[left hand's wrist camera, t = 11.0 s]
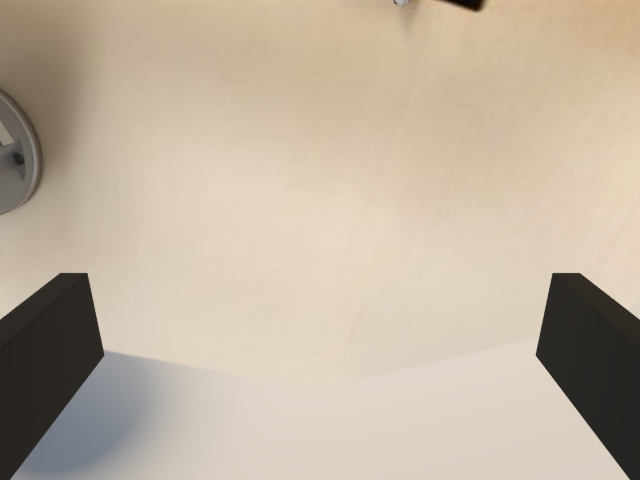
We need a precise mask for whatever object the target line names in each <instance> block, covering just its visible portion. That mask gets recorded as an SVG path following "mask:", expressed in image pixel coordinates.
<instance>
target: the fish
mask: <svg viewBox="0 0 640 480" xmlns="http://www.w3.org/2000/svg"><path fill="white" fill-rule="evenodd" d="M409 1H410V0H394V3H395V4H397V5H398V6H400V7H402V6H404V5H406V4H407V3H409Z"/></svg>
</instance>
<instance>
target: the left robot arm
mask: <svg viewBox="0 0 640 480" xmlns="http://www.w3.org/2000/svg"><path fill="white" fill-rule="evenodd" d="M41 171H42V154H41V148H40V144H39V141H38V138H37V135H36V133H35V130H34V128H33V126H32V124H31V123H30V121H29V119H28V118H27V116H26V115H25V113H24V112H23V111H22V109H21V108H20V107H19V106H18V105H17V104H16V103H15V102H14V101H13V100H12V99H11V98H10V97H9V96H8V95H7V94H5V93H4V92H3V91H2V90H0V215H2V214H5V213H7V212H9V211H11V210H13V209H15V208H17V207H19V206H21V205H22V204H23V203H24V202H26V201H27V200H28V199H29V198H30V197H31V195H32V194H33V193H34V191H35V189H36V187H37V185H38V183H39V180H40V176H41ZM103 356H104V351H103V346H102V341H101V337H100V332H99V327H98V322H97V317H96V312H95V308H94V303H93V298H92V293H91V288H90V283H89V279H88V274H87V273H60V274H58V275H57V276H56V277H55V278H53V279H52V280H51V281H49V282H48V283H47V284H46V285H44V286H43V287H42V288H40V289H39V290H38V291H37V292H35V293H34V294H33V295H31V296H30V297H29V298H28V299H26V300H25V301H24V302H22V303H21V304H20V305H19V306H17V307H16V308H15V309H13V310H12V311H11V312H10V313H8V314H7V315H6V316H4V317H3V318H2V319H1V320H0V480H10V479H11V478H12V476H13V475H14V474H15V472H16V471H17V470H18V468H19V467H20V466H21V464H22V463H23V462H24V461H25V459H26V458H27V457H28V455H29V454H30V453H31V451H32V450H33V449H34V447H35V446H36V445H37V443H38V442H39V441H40V439H41V438H42V437H43V436H44V434H45V433H46V431H47V430H48V429H49V428H50V426H51V425H52V424H53V422H54V421H55V420H56V418H57V417H58V416H59V414H60V413H61V412H62V410H63V409H64V408H65V407H66V405H67V404H68V403H69V401H70V400H71V399H72V397H73V396H74V395H75V393H76V392H77V391H78V389H79V388H80V387H81V385H82V384H83V383H84V382H85V380H86V379H87V378H88V376H89V375H90V374H91V372H92V371H93V370H94V368H95V367H96V366H97V364H98V363H99V362H100V360H101V359H102V358H103ZM536 356H537V358H538V359H539V360H540V362H541V363H542V364H543V366H544V367H545V368H546V370H547V371H548V372H549V374H550V375H551V376H552V378H553V379H554V380H555V381H556V383H557V384H558V385H559V387H560V388H561V389H562V391H563V392H564V393H565V395H566V396H567V397H568V399H569V400H570V401H571V403H572V404H573V405H574V407H575V408H576V409H577V410H578V412H579V413H580V414H581V416H582V417H583V418H584V420H585V421H586V422H587V424H588V425H589V426H590V428H591V429H592V430H593V432H594V433H595V434H596V435H597V437H598V438H599V439H600V441H601V442H602V443H603V445H604V446H605V447H606V449H607V450H608V451H609V453H610V454H611V455H612V457H613V458H614V459H615V460H616V462H617V463H618V464H619V466H620V467H621V468H622V470H623V471H624V472H625V474H626V475H627V476H628V478H629V479H630V480H640V320H639V319H638V318H637V317H635V316H634V315H633V314H632V313H630V312H629V311H628V310H627V309H625V308H624V307H623V306H621V305H620V304H619V303H618V302H616V301H615V300H614V299H612V298H611V297H610V296H609V295H607V294H606V293H605V292H603V291H602V290H601V289H600V288H598V287H597V286H596V285H594V284H593V283H592V282H591V281H589V280H588V279H587V278H585V277H584V276H583V275H582V274H580V273H553V274H552V279H551V283H550V288H549V293H548V298H547V303H546V308H545V312H544V317H543V322H542V327H541V332H540V337H539V342H538V346H537V351H536Z"/></svg>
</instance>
